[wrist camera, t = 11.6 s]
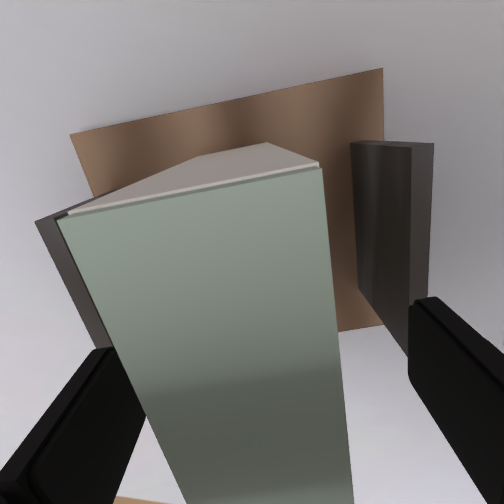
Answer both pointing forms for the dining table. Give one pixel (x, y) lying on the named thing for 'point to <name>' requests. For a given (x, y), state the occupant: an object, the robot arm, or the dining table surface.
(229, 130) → the bookshelf board
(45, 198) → the dining table surface
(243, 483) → the book
